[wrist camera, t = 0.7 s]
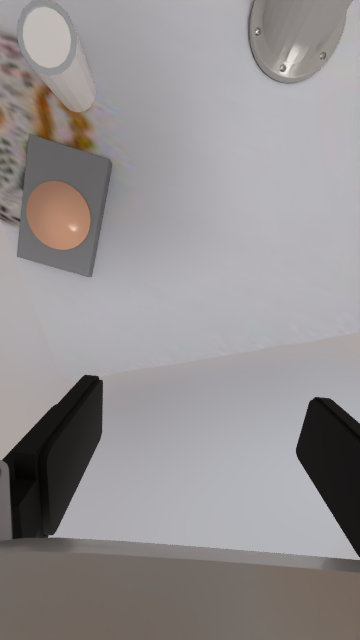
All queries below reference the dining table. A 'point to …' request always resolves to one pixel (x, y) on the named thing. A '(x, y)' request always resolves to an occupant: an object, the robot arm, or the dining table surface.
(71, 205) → the coaster
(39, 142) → the board
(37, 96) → the dining table surface
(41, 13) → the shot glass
